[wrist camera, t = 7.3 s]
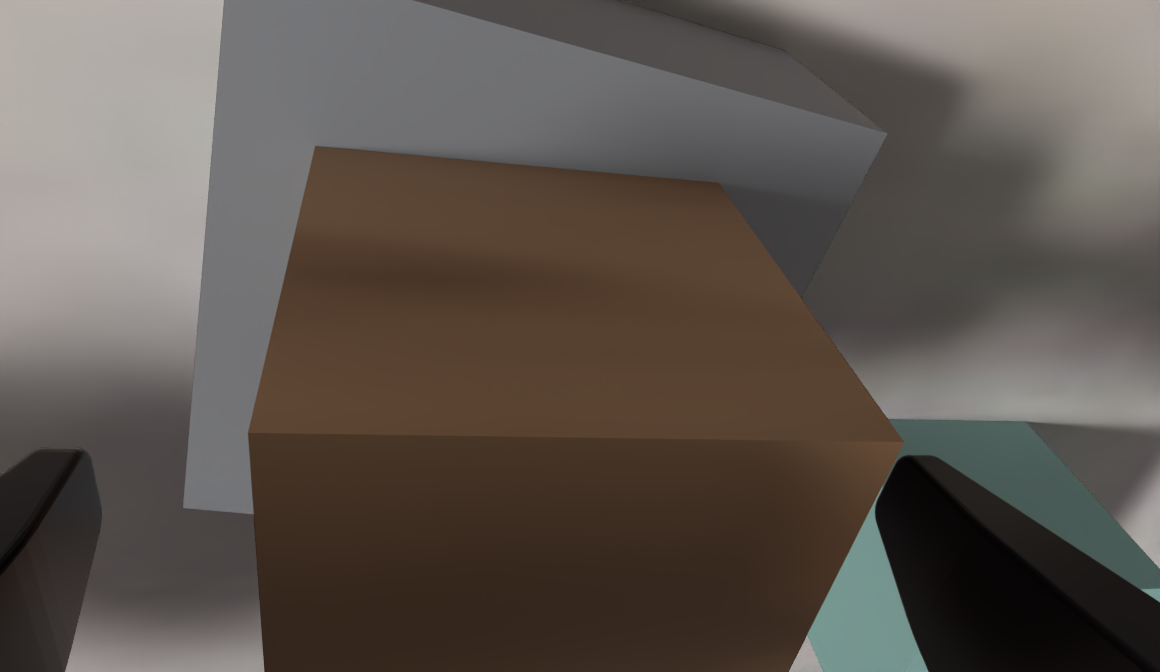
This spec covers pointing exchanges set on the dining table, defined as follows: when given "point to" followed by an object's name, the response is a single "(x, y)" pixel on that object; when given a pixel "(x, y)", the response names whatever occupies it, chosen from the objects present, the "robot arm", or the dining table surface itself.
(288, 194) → the slate base block
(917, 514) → the robot arm
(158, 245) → the dining table surface
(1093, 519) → the teal cube
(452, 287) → the walnut cube
